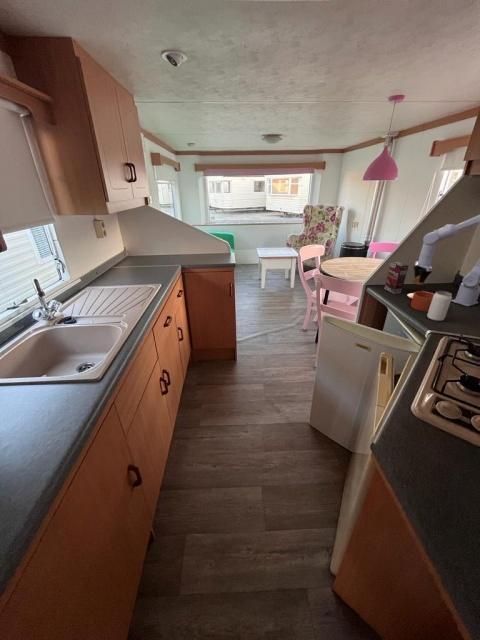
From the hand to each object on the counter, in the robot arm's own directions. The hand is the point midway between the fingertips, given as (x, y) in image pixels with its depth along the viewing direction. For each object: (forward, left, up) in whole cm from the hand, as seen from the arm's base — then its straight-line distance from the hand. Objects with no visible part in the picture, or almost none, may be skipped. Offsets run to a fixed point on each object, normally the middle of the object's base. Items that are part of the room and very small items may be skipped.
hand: (419, 280), depth 146 cm
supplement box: (+10, -7, -7) cm, 14 cm away
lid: (+8, +7, -6) cm, 12 cm away
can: (+25, +25, -7) cm, 36 cm away
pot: (+18, +15, -7) cm, 24 cm away
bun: (0, 0, -1) cm, 1 cm away
